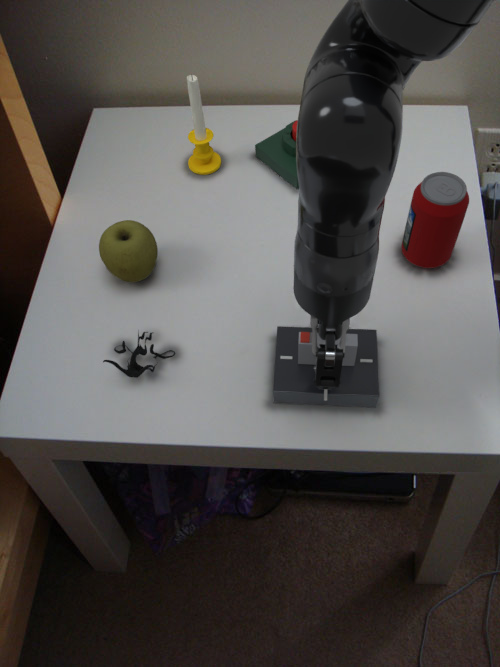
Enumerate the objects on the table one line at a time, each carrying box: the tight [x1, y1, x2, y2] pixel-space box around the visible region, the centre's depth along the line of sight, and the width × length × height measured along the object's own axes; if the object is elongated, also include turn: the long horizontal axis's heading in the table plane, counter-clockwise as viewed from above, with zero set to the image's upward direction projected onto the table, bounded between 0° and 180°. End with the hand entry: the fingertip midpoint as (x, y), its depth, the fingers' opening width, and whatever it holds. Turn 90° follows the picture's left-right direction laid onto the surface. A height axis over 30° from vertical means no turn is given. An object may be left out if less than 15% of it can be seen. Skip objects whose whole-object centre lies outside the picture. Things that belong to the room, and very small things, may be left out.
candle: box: [186, 74, 222, 176], centre depth 88 cm, size 5×5×16 cm
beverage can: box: [400, 171, 470, 269], centre depth 77 cm, size 7×7×12 cm
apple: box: [98, 219, 159, 283], centre depth 80 cm, size 8×8×7 cm
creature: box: [102, 329, 176, 379], centre depth 73 cm, size 8×5×8 cm
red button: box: [292, 119, 298, 141], centre depth 90 cm, size 4×4×2 cm
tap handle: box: [298, 332, 358, 366], centre depth 68 cm, size 6×2×5 cm, turn 85°
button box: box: [254, 119, 300, 190], centre depth 92 cm, size 12×10×4 cm
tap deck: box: [272, 325, 380, 409], centre depth 71 cm, size 12×11×3 cm
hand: (325, 352), depth 69 cm, fingers open, 8 cm apart
